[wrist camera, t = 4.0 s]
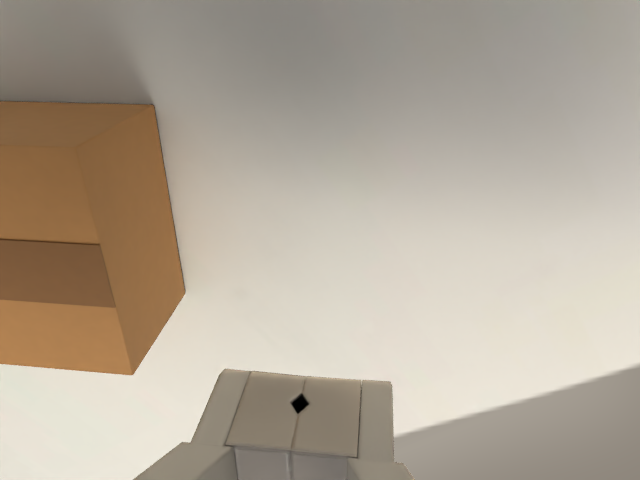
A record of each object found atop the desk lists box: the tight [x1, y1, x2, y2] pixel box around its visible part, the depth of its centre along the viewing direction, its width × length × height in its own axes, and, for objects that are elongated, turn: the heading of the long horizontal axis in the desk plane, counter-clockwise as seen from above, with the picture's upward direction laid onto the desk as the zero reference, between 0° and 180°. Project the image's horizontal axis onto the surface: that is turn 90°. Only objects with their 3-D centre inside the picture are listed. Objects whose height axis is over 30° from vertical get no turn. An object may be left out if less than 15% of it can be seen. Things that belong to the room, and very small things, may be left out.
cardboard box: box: [0, 101, 185, 375], centre depth 14 cm, size 8×6×4 cm
